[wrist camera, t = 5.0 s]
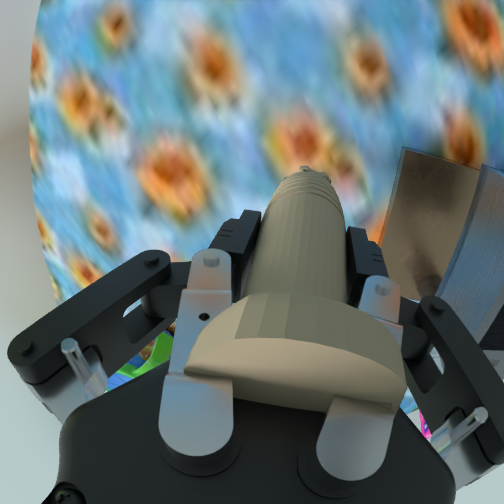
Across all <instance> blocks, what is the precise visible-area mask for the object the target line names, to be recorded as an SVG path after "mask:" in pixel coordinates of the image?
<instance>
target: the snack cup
mask: <svg viewBox="0 0 504 504" xmlns="http://www.w3.org/2000/svg"><path fill="white" fill-rule="evenodd" d="M173 340H174V337H173V336H172V335H171V334H170V332H168V331H166V330H164V331H163V332H162V333H161V334H159V335H158V336H157V337H156V338H155V339H154V340H153V341H151V342H150V343H149V344H148V345H147V346H146V347H144V348H143V349H142V350H141V351H140V352H139V353H138V354H136V355H135V356H134V357H133V358H132V359H131V360H129V361H128V362H127V363H126V364H125V365H124V366H123V367H121V368H120V369H119V370H118V371H117V372H116V373H114V374H113V375H112V376H111V377H110V378H109V379H108V387H107V389H106V391H107V392H108V391H110V390H112V389H114V388H116V387H118V386H120V385H122V384H124V383H126V382H128V381H130V380H132V379H134V378H136V377H138V376H139V375H141V374H143V373H145V372H147V371H149V370H151V369H153V368H155V367H156V366H158V365H160V364H162V363H164V362H166V361H168V360H170V359H171V352H172V346H173Z"/></svg>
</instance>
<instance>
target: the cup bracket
mask: <svg viewBox="0 0 504 504" xmlns="http://www.w3.org/2000/svg"><path fill="white" fill-rule="evenodd" d="M378 246H379V247H380V248H381V251H382V254H383V258H384V261H385V262H384V263H385V265H386V268H387V272H388V276H389V279H391V280H393V281H394V282H395V283H396V284H397V285H398V286H399V288H400V290H401V296H402V297H404V298H406V299H411V300H418V301H421V299H422V298H423V297H424V296H428V295H432V296H436V297H439V298H441V299H443V300H444V301H445V302H447V303H448V304H449V306H450V307H451V308H452V309H453V311H454V312H455V313H456V315H457V316H458V317H459V319H460V320H461V321H462V323H463V324H464V325H465V327H466V328H467V329H468V331H469V332H470V333H471V335H472V336H473V338H474V339H475V340H476V342H477V343H478V345H479V346H480V348H481V349H482V350H483V352H484V353H485V355H486V356H487V358H488V359H489V361H490V362H491V364H492V365H493V367H494V368H495V370H496V371H497V373H498V375H499V376H500V378H501V379H502V380H503V379H504V172H502V171H500V170H497V169H495V168H492V167H490V166H487V165H484V164H482V167H481V170H478V169H475V168H472V167H469V166H466V165H463V164H460V163H457V162H454V161H451V160H448V159H444V158H441V157H438V156H434V155H431V154H427V153H424V152H420V151H416V150H413V149H409V148H405V147H402V149H401V154H400V159H399V164H398V168H397V173H396V177H395V182H394V186H393V190H392V194H391V198H390V202H389V206H388V210H387V214H386V218H385V221H384V225H383V229H382V232H381V236H380V239H379V242H378ZM438 354H439V353H438ZM439 358H440V361H441V365H442V369H443V372H444V362H443V360H442V358H441V356H440V355H439Z"/></svg>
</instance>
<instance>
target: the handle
mask: <svg viewBox="0 0 504 504" xmlns="http://www.w3.org/2000/svg"><path fill="white" fill-rule="evenodd" d="M346 274H347V257H346V227H345V220H344V215H343V210H342V207H341V204H340V201H339V198H338V196H337V194H336V192H335V190H334V188H333V187H332V185H331V180H330V178H329V177H328V175H327V174H326V173H325V172H322V173H321V172H316V171H314V170H312V169H311V168H309V166H301V167H300V168H299V170H298V171H297V172H296V173H295V174H292V175H291V176H289V177H285V178H284V179H283V180H282V182H281V183H280V185H279V187H278V188H277V190H276V191H275V193H274V194H273V196H272V198H271V200H270V202H269V204H268V206H267V208H266V211H265V213H264V216H263V218H262V221H261V225H260V229H259V232H258V236H257V240H256V244H255V249H254V253H253V257H252V261H251V265H250V269H249V272H248V276H247V280H246V284H245V287H244V291H243V295H242V299H241V300H240V301H238V302H236V303H235V304H233V305H232V306H230V307H229V308H227V309H226V310H224V311H223V312H222V313H220V314H219V315H218V316H216V317H215V318H214V319H213V320H212V321H210V322H209V323H208V324H207V325H206V326H205V327H204V328H203V329H202V330H201V332H200V333H199V335H198V337H197V339H196V341H195V343H194V345H193V347H192V349H191V352H190V354H189V357H188V360H187V362H186V364H185V367H184V369H183V370H186V371H190V372H195V373H201V374H207V375H216V376H225V377H232V388H233V397H234V398H238V399H243V400H248V401H254V402H259V403H265V404H271V405H277V406H283V407H289V408H296V409H303V410H311V411H319V412H325V410H326V409H327V407H328V405H329V403H330V401H331V400H332V398H333V396H334V394H338V395H342V396H346V397H351V398H356V399H361V400H368V401H377V402H389V403H392V409H393V412H394V417H395V415H396V413H397V411H398V409H399V407H400V404H401V402H402V400H403V397H404V395H405V392H406V390H407V386H406V379H405V372H404V366H403V361H402V355H401V351H400V348H399V346H398V344H397V342H396V341H395V339H394V337H393V336H392V334H391V333H390V332H389V330H388V329H387V328H386V327H385V326H384V325H383V324H382V323H381V322H380V321H378V320H376V319H375V318H373V317H372V316H370V315H369V314H367V313H366V312H363V311H361V310H359V309H357V308H354V307H352V306H350V305H347V304H346V301H347V278H346Z"/></svg>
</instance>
